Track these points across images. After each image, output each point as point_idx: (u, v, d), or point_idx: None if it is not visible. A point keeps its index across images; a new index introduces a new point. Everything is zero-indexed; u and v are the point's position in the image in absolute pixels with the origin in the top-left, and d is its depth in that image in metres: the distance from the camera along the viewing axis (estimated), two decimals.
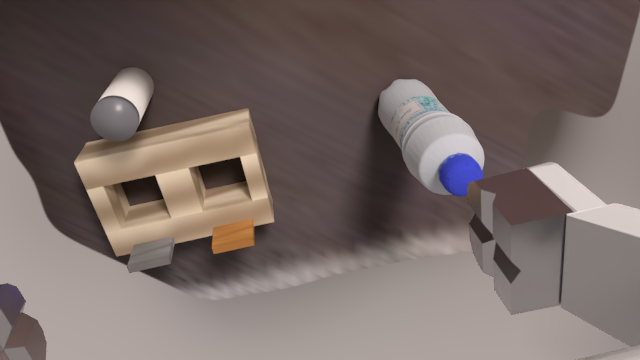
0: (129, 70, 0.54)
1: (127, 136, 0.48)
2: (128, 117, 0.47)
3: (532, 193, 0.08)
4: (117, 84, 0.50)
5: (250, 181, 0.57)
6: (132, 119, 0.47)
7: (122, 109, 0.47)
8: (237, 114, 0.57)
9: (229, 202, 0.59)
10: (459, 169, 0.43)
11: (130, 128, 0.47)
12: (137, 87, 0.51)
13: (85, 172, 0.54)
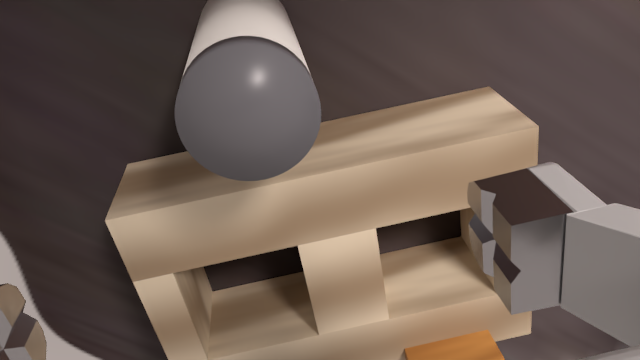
0: None
1: (282, 165, 0.15)
2: (294, 107, 0.15)
3: (532, 193, 0.08)
4: (236, 12, 0.17)
5: None
6: (305, 113, 0.15)
7: (279, 80, 0.14)
8: (475, 100, 0.25)
9: (442, 296, 0.27)
10: None
11: (295, 141, 0.15)
12: (284, 23, 0.18)
13: (132, 243, 0.22)
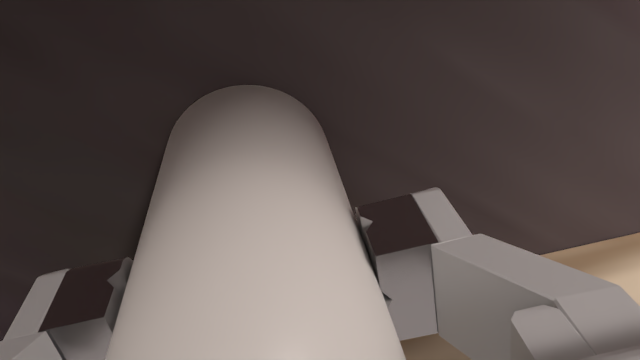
0: (246, 102, 0.11)
1: None
2: None
3: (406, 221, 0.08)
4: (230, 219, 0.07)
5: None
6: None
7: None
8: (638, 265, 0.15)
9: None
10: None
11: None
12: (340, 221, 0.08)
13: None
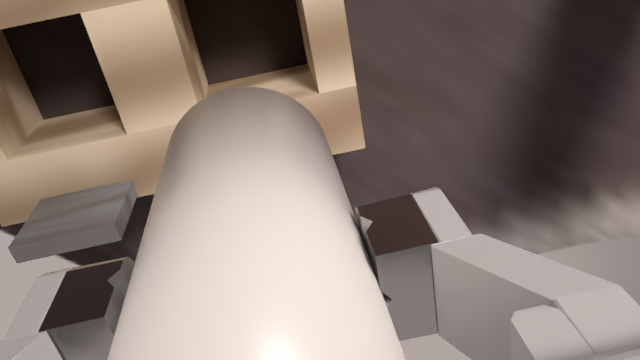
0: (247, 105, 0.11)
1: None
2: None
3: (407, 221, 0.08)
4: (231, 222, 0.07)
5: (318, 41, 0.23)
6: None
7: None
8: None
9: None
10: None
11: None
12: (340, 224, 0.08)
13: None
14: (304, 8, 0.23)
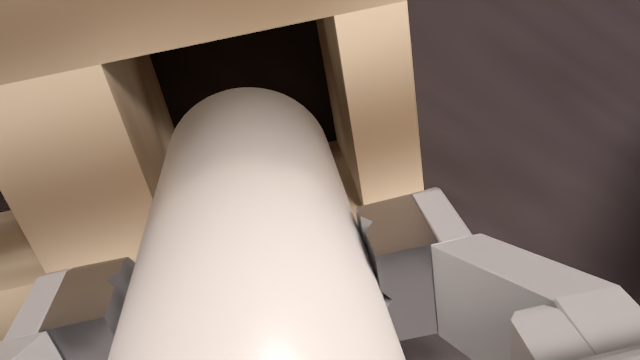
0: (247, 105, 0.11)
1: None
2: None
3: (406, 221, 0.08)
4: (232, 223, 0.07)
5: (367, 133, 0.14)
6: None
7: None
8: None
9: None
10: None
11: None
12: (340, 225, 0.08)
13: None
14: (345, 81, 0.13)
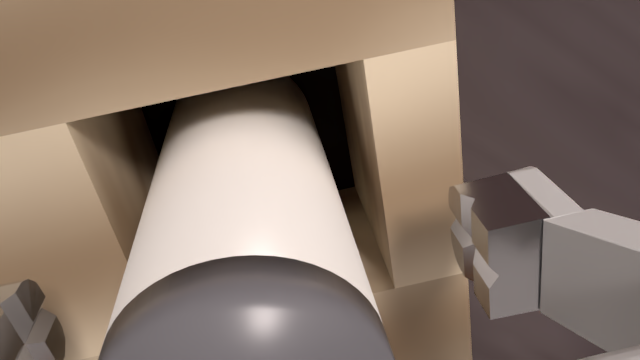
0: None
1: None
2: None
3: (510, 198, 0.08)
4: (225, 148, 0.09)
5: (401, 199, 0.11)
6: None
7: None
8: None
9: None
10: None
11: None
12: (312, 156, 0.10)
13: None
14: (376, 139, 0.11)
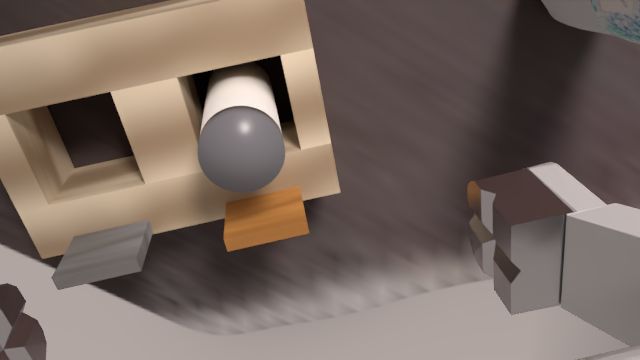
0: None
1: (263, 182, 0.25)
2: (268, 147, 0.24)
3: (532, 193, 0.08)
4: (233, 86, 0.27)
5: (299, 109, 0.29)
6: (275, 150, 0.25)
7: (259, 132, 0.24)
8: None
9: None
10: None
11: (270, 167, 0.25)
12: (264, 90, 0.28)
13: None
14: (287, 84, 0.28)
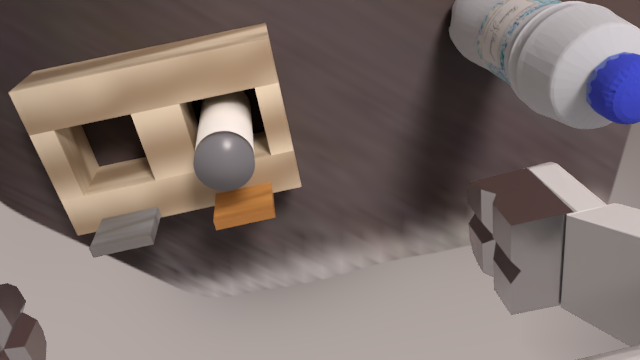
0: None
1: (240, 183, 0.36)
2: (243, 159, 0.35)
3: (532, 193, 0.08)
4: (218, 112, 0.38)
5: (269, 126, 0.40)
6: (248, 162, 0.35)
7: (235, 149, 0.35)
8: (250, 29, 0.40)
9: None
10: (634, 74, 0.25)
11: (244, 173, 0.36)
12: (242, 114, 0.39)
13: (26, 108, 0.37)
14: (260, 108, 0.39)
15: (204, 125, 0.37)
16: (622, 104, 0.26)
